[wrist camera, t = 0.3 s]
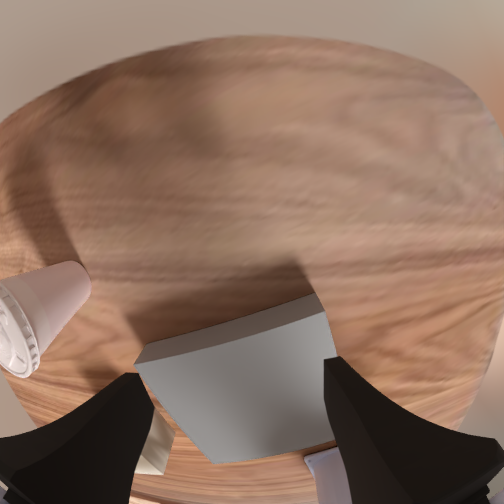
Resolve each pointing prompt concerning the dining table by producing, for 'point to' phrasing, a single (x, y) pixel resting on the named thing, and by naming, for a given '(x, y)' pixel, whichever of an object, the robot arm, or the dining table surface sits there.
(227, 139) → the dining table surface
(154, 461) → the cream cube
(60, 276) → the smoothie
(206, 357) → the plinth
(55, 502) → the robot arm
